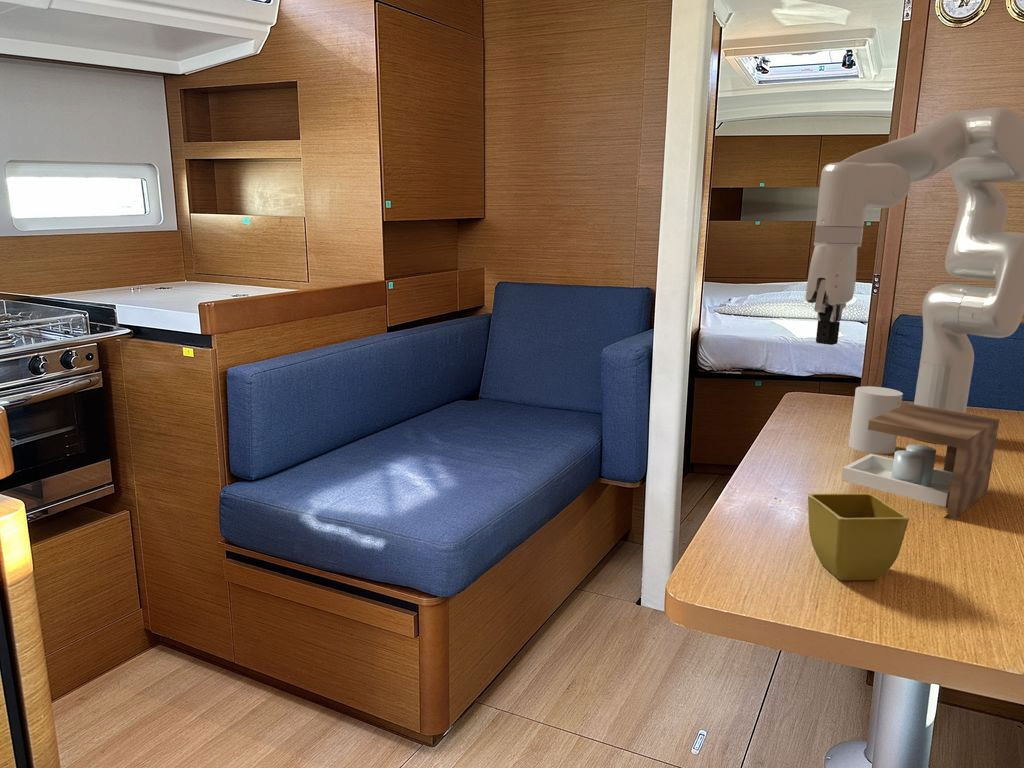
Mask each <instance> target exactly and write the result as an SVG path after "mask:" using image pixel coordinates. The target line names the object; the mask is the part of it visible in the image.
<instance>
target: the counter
mask: <svg viewBox="0 0 1024 768" xmlns="http://www.w3.org/2000/svg"><path fill="white" fill-rule="evenodd" d="M999 424H1000V419H999V418H993V417H988V416H982V415H976V414H970V413H960V412H954V411H949V410H943V409H937V408H932V407H926V406H920V405H915V404H914V403H910V402H908V403H905V404H903V405H901V407H898V408H896V409H894V410H891V411H889V412H887V413H885V414H882V415H880V416H878V417H876V418H873V419H871V420H869V425H868V430H873V431H878V432H883V433H888V434H893V435H897V437H904V438H908V439H913V440H917V441H922V442H927V443H932V444H937V445H942V446H946V453H945V458H944V464H943V470H944V471H949V472H953V476H952V482H951V489H950V495H949V501H948V506H946V507H947V509H946V515H945V518H946V519H949V520H953V521H956V520H957V519H958V518H959V517H960V516H961V515H962V514H964V513H965V512H966V511H967V510H968V509H969V508H971V507H972V506H973V505H974V504H975V503H976V502H978V501H979V500H980V499H981V498H982V497H984V496H985V495H986V494H987V493H988V489H989V484H990V478H991V473H992V471H991V470H992V466H993V462H994V461H993V460H994V454H995V448H996V441H997V436H998V432H999Z"/></svg>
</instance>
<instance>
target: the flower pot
mask: <svg viewBox="0 0 1024 768" xmlns="http://www.w3.org/2000/svg"><path fill="white" fill-rule="evenodd" d="M807 510H808V511H807V513H808V514H807V515H808V517H807V518H808V531H809V538H810V541H811V544H812V548H813V549H814V552H815V555H816V556H817V558H818V561H819V562H820V564H821V565H822V566H823V567H824V568H825V569H826V570H828V571H829V572H830V573H831V574H832V575H833V576H835V578H837V579H838V580H840V581H877V580H879V579H881V578H882V577H883V576H884V575H885V574H886V573H888V571H889V570H890V569H891V568H892V567H893V565H894V563H895V562H896V560H897V558H898V557H899V554H900V552H901V549H902V545H903V542H904V538H905V535H906V531H907V528H908V527H907V526H908V524H909V520H910V517H909V516H908V515H906V514H904V513H903V512H901V511H899V510H897V508H894V507H892V506H891V505H889V504H888V503H886V502H885V501H884V500H882V499H880V498H879V497H878V496H876V495H874V494H872V493H860V492H859V493H853V492H851V493H808V494H807Z"/></svg>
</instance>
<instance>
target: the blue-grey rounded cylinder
mask: <svg viewBox="0 0 1024 768" xmlns="http://www.w3.org/2000/svg"><path fill="white" fill-rule="evenodd" d="M893 459H894V462H893V469H892V476H891V478H893V479H897V480H902V481H906V482H910V483H914V484H918V485H921V482H922V476H923V469H924V462H925V456H924V455H923V454H920V453H917V452H913V451H906V450H895V452H894V456H893Z"/></svg>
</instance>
